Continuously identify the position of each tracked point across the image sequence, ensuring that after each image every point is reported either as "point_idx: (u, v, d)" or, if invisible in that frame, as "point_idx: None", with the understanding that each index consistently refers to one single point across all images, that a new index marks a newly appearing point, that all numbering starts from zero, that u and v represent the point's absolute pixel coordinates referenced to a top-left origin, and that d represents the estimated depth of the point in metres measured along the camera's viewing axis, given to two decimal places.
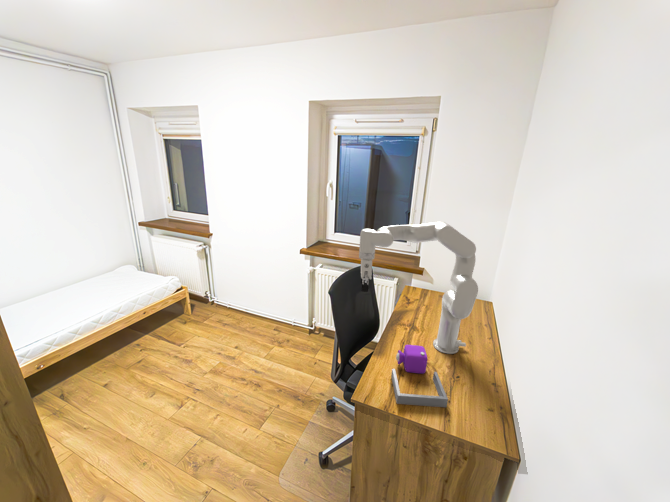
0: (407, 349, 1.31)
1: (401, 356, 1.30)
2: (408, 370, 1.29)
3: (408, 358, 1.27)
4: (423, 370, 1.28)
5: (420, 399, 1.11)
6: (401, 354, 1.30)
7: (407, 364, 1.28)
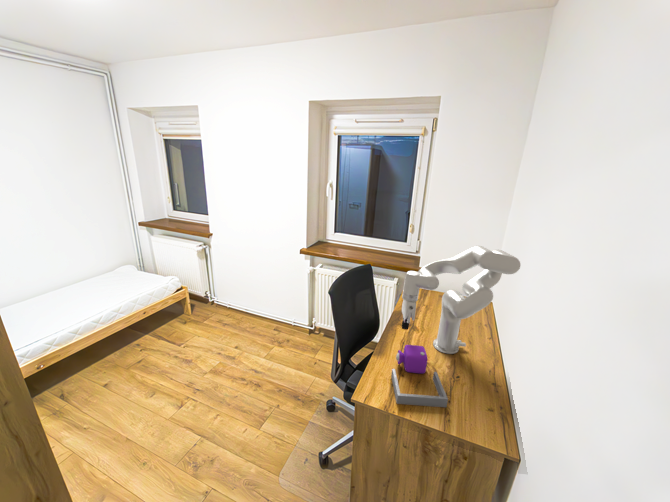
0: (407, 349, 1.31)
1: (401, 356, 1.30)
2: (408, 370, 1.29)
3: (408, 358, 1.27)
4: (423, 370, 1.28)
5: (420, 399, 1.11)
6: (401, 354, 1.30)
7: (407, 364, 1.28)
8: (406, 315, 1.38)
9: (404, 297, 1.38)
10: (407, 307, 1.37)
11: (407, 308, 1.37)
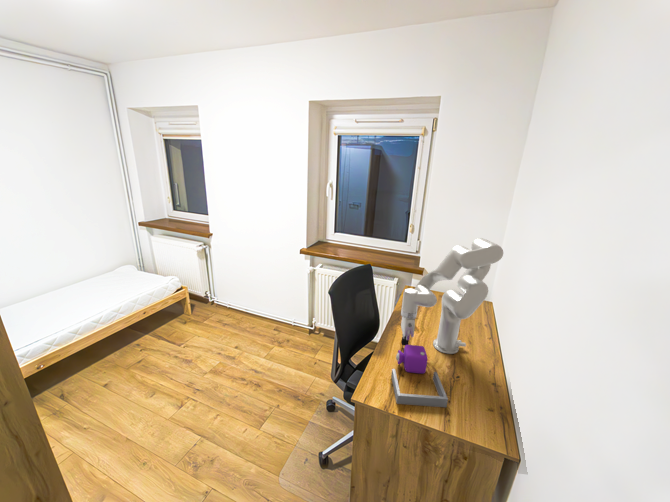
0: (407, 349, 1.31)
1: (401, 356, 1.30)
2: (408, 370, 1.29)
3: (408, 358, 1.27)
4: (423, 370, 1.28)
5: (420, 399, 1.11)
6: (401, 354, 1.30)
7: (407, 364, 1.28)
8: (405, 332, 1.39)
9: (403, 314, 1.40)
10: (406, 324, 1.39)
11: (406, 325, 1.39)
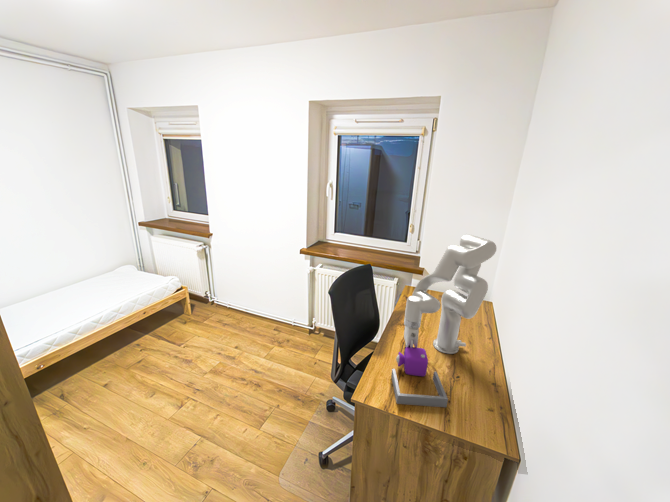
0: (407, 351, 1.29)
1: (401, 358, 1.28)
2: (408, 373, 1.27)
3: (408, 360, 1.25)
4: (423, 373, 1.26)
5: (420, 399, 1.11)
6: (401, 356, 1.29)
7: (407, 366, 1.26)
8: (408, 343, 1.31)
9: (406, 324, 1.32)
10: (409, 334, 1.30)
11: (409, 335, 1.30)
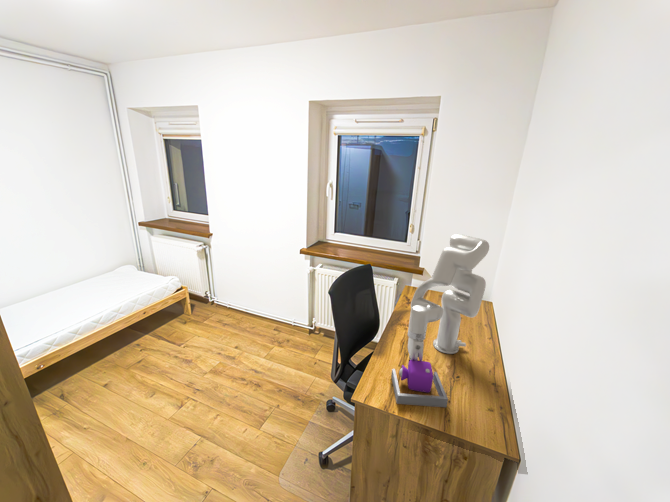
0: (411, 365, 1.20)
1: (404, 372, 1.20)
2: (411, 388, 1.18)
3: (411, 375, 1.17)
4: (428, 389, 1.17)
5: (420, 399, 1.11)
6: (404, 370, 1.20)
7: (410, 381, 1.17)
8: (413, 356, 1.22)
9: (410, 335, 1.23)
10: (414, 347, 1.21)
11: (414, 348, 1.22)
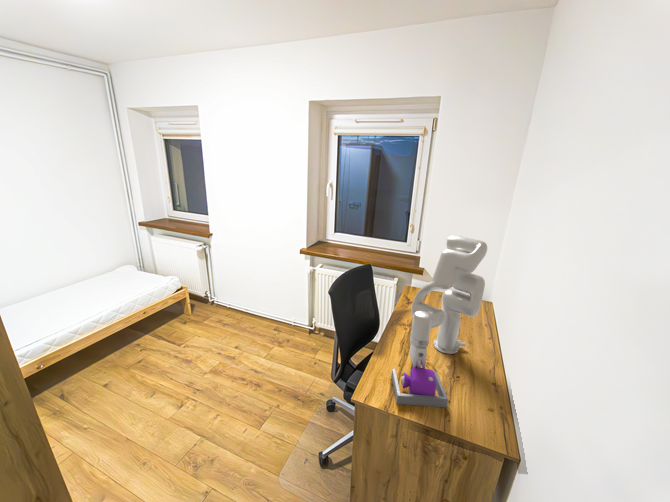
0: (413, 372, 1.16)
1: (406, 380, 1.15)
2: None
3: (414, 383, 1.12)
4: None
5: (420, 399, 1.11)
6: (406, 377, 1.16)
7: (412, 390, 1.13)
8: (415, 363, 1.18)
9: (412, 342, 1.18)
10: (416, 354, 1.17)
11: (416, 355, 1.17)
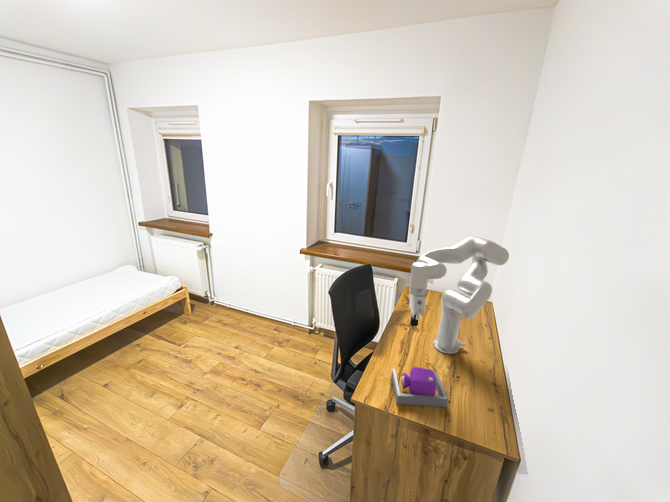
0: (413, 372, 1.16)
1: (406, 380, 1.15)
2: None
3: (414, 383, 1.12)
4: None
5: (420, 399, 1.11)
6: (406, 378, 1.16)
7: (413, 390, 1.13)
8: (415, 311, 1.25)
9: (411, 291, 1.26)
10: (415, 302, 1.24)
11: (415, 303, 1.24)
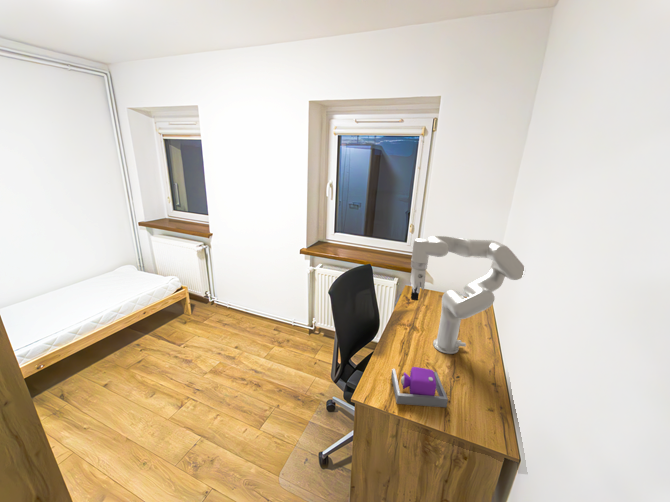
0: (413, 372, 1.16)
1: (406, 380, 1.15)
2: None
3: (414, 383, 1.12)
4: None
5: (420, 399, 1.11)
6: (406, 378, 1.16)
7: (412, 390, 1.13)
8: (415, 284, 1.33)
9: (413, 266, 1.33)
10: (416, 276, 1.32)
11: (416, 277, 1.32)
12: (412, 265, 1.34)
